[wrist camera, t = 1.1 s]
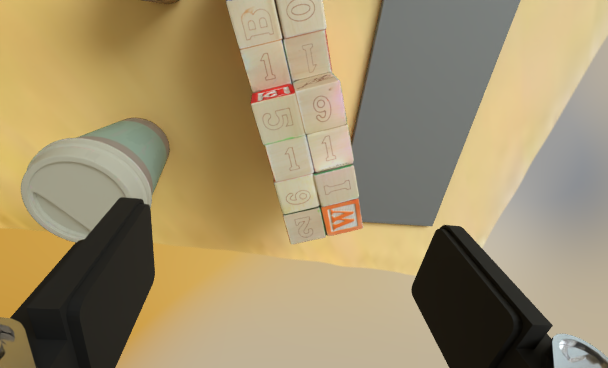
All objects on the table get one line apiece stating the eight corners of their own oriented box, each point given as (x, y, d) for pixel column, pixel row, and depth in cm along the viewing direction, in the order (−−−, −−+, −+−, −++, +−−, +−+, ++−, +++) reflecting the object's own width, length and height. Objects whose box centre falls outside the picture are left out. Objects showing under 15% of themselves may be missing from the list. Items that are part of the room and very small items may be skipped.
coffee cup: (83, 108, 31) (-15, 154, 20) (171, 100, 31) (120, 142, 21) (113, 184, 35) (44, 256, 24) (191, 176, 35) (157, 244, 25)
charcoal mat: (390, -39, 28) (393, -40, 27) (521, -14, 29) (526, -15, 29) (335, 217, 40) (336, 220, 39) (430, 223, 42) (432, 226, 41)
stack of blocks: (226, -37, 27) (196, -75, 16) (298, -54, 27) (317, -104, 16) (284, 180, 37) (290, 247, 26) (336, 168, 37) (364, 231, 26)
